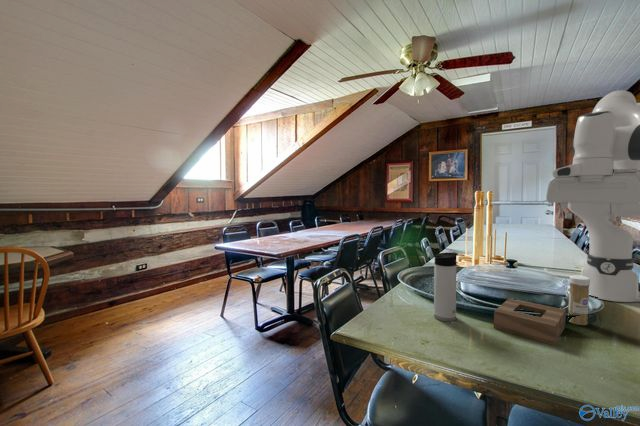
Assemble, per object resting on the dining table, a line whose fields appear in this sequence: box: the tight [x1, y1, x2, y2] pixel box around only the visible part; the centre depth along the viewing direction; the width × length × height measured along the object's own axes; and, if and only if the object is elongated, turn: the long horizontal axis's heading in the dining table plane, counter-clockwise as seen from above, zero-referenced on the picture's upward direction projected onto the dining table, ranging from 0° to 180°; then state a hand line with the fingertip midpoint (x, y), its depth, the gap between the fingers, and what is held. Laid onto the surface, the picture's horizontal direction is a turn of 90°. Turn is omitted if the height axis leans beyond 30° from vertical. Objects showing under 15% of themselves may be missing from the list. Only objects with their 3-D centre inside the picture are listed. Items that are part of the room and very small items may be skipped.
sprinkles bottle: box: [568, 274, 590, 326], centre depth 91 cm, size 5×5×13 cm
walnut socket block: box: [493, 298, 567, 346], centre depth 89 cm, size 14×14×5 cm
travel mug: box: [433, 252, 459, 322], centre depth 97 cm, size 6×7×20 cm
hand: (589, 219), depth 89 cm, fingers open, 8 cm apart
